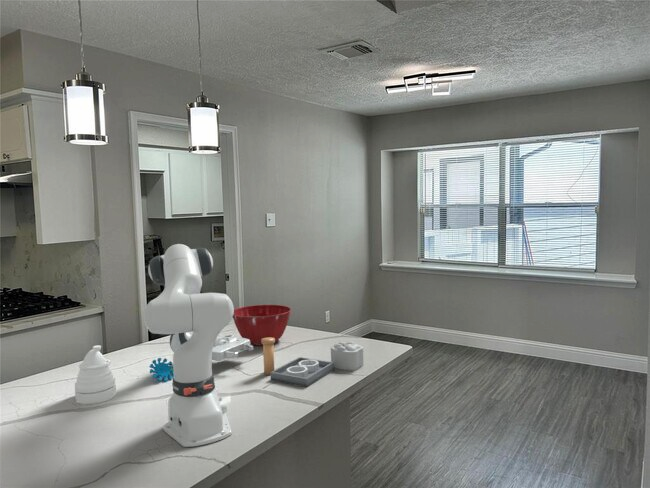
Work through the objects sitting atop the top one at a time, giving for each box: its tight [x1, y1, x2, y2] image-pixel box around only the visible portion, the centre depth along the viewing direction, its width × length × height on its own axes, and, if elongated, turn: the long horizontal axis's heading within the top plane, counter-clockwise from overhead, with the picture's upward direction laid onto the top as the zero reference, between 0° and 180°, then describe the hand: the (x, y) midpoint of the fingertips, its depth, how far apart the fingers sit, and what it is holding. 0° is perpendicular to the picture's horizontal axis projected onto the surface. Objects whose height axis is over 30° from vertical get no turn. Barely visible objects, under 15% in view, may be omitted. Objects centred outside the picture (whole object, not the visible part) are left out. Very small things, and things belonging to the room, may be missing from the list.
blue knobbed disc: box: [149, 357, 174, 382], centre depth 184 cm, size 11×6×10 cm
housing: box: [269, 356, 335, 388], centre depth 183 cm, size 16×20×4 cm
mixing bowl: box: [232, 304, 292, 346], centre depth 230 cm, size 28×28×16 cm
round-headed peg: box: [261, 337, 276, 376], centre depth 186 cm, size 5×5×13 cm
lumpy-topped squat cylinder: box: [330, 341, 365, 371], centre depth 193 cm, size 10×13×9 cm
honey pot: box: [74, 344, 117, 405], centre depth 167 cm, size 13×13×18 cm
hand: (244, 351), depth 192 cm, fingers open, 8 cm apart
